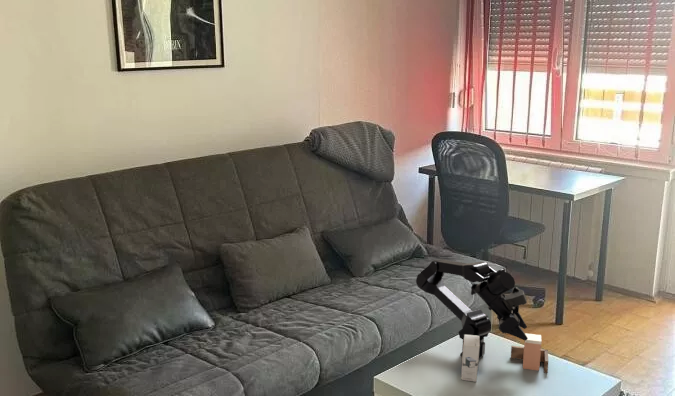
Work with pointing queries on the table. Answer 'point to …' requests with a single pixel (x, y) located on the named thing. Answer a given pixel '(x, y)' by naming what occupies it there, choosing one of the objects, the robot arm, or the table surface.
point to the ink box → (470, 357)
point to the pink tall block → (532, 352)
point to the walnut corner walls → (519, 352)
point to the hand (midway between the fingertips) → (526, 333)
